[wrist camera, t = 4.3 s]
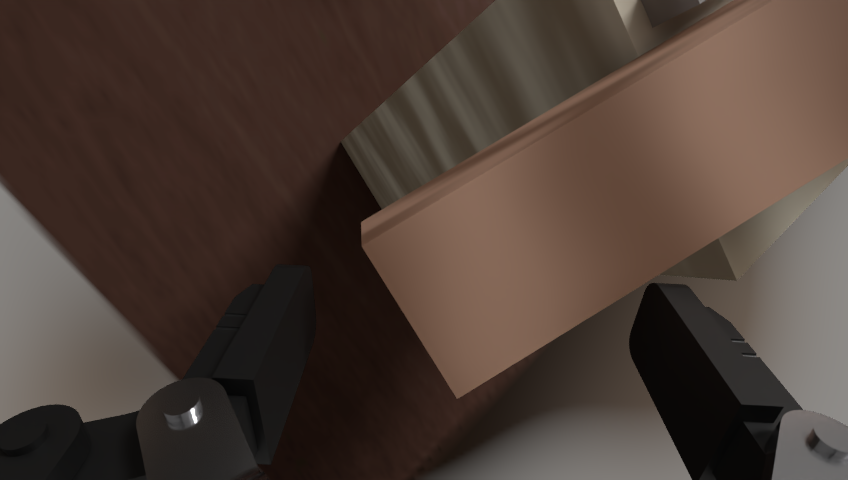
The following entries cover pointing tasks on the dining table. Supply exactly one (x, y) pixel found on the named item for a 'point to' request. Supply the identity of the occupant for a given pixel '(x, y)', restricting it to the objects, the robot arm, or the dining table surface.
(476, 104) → the chevron patterned box
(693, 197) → the block
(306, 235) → the dining table surface
